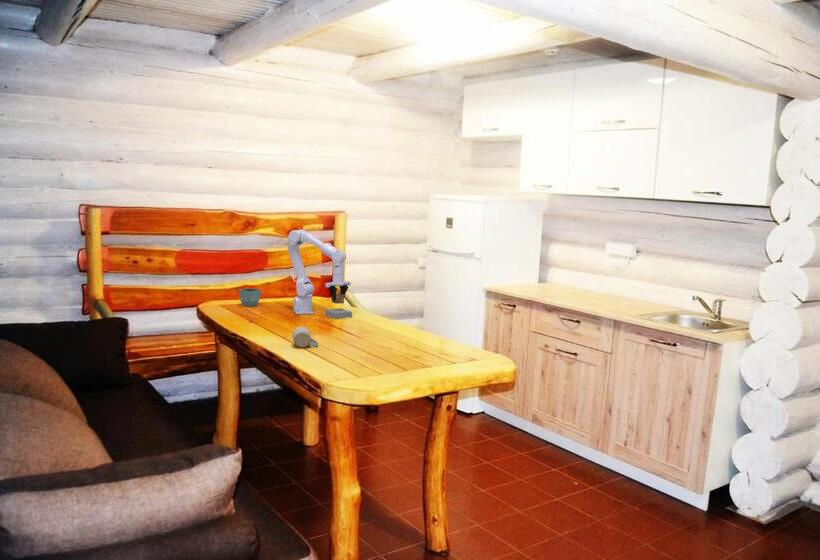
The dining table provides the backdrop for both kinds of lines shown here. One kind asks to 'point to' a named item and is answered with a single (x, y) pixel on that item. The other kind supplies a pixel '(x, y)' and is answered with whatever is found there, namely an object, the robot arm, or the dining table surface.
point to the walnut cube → (339, 298)
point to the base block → (338, 313)
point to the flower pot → (249, 296)
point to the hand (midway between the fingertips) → (338, 300)
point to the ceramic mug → (303, 337)
